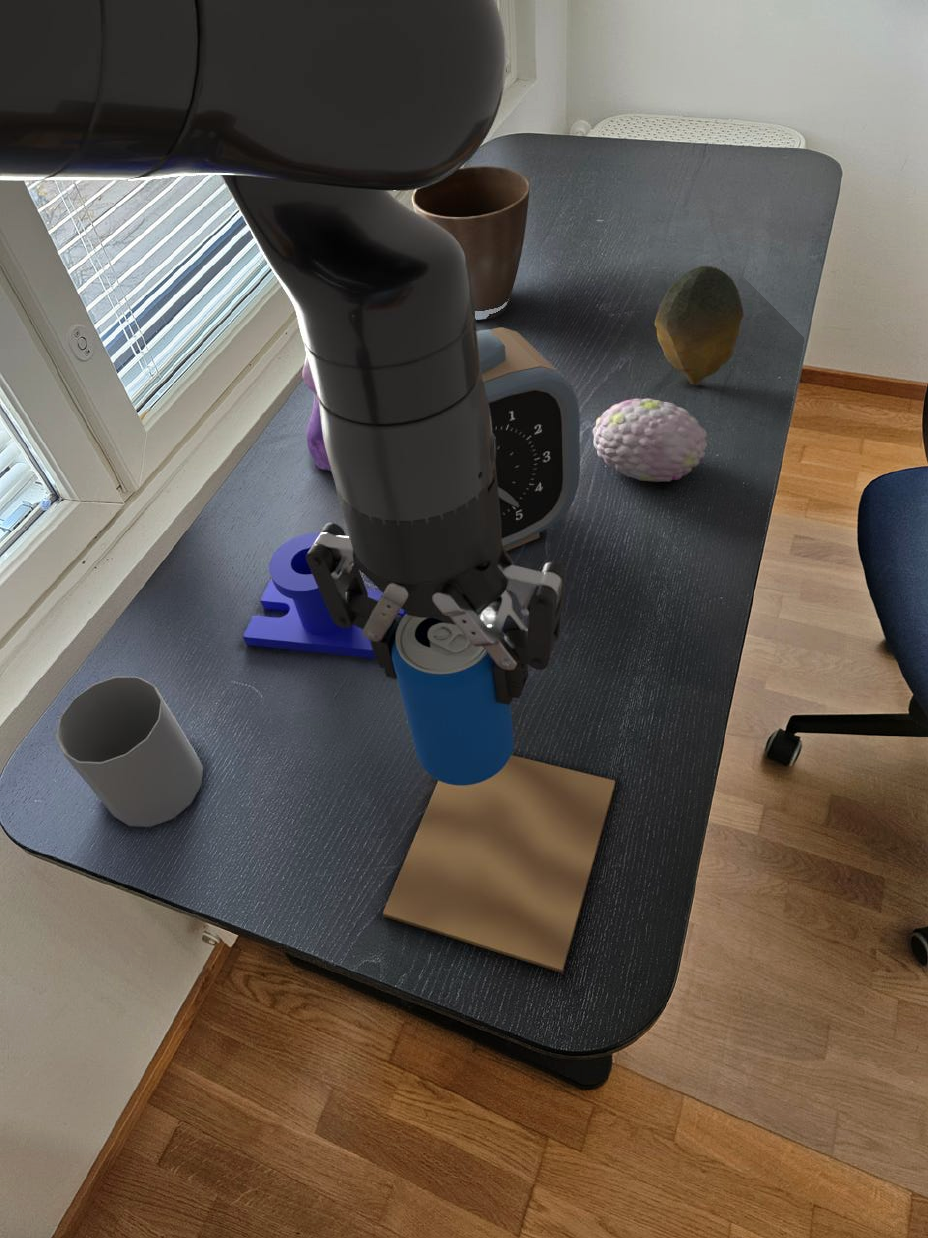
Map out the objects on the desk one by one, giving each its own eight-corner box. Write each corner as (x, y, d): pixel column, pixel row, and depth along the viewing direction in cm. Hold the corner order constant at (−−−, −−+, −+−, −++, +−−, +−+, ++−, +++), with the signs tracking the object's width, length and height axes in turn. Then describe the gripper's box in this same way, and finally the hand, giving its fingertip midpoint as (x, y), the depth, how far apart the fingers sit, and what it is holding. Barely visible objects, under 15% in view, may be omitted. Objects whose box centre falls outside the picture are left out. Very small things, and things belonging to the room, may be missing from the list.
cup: (170, 727, 81) (128, 659, 74) (221, 778, 77) (182, 712, 70) (90, 788, 78) (37, 724, 70) (139, 846, 74) (88, 783, 66)
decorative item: (705, 472, 89) (660, 382, 88) (613, 513, 96) (569, 431, 94) (726, 448, 96) (685, 364, 95) (639, 488, 103) (599, 411, 101)
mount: (246, 644, 87) (218, 583, 80) (272, 588, 92) (248, 526, 85) (392, 660, 84) (376, 597, 77) (412, 601, 88) (398, 538, 82)
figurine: (335, 418, 110) (306, 307, 99) (401, 440, 106) (379, 327, 95) (286, 463, 105) (250, 351, 94) (354, 487, 101) (325, 374, 90)
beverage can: (455, 695, 62) (433, 576, 53) (533, 736, 59) (523, 617, 50) (398, 762, 59) (364, 648, 50) (477, 809, 56) (457, 696, 47)
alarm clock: (402, 601, 89) (361, 424, 72) (368, 544, 95) (323, 368, 78) (582, 527, 93) (582, 344, 77) (539, 477, 99) (530, 297, 83)
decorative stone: (735, 373, 108) (752, 254, 96) (730, 403, 104) (747, 283, 93) (655, 367, 110) (662, 251, 99) (647, 396, 107) (654, 278, 95)
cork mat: (562, 973, 63) (562, 970, 63) (383, 916, 67) (382, 913, 67) (615, 784, 73) (615, 780, 72) (455, 744, 77) (455, 740, 76)
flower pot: (445, 276, 130) (431, 163, 118) (545, 281, 127) (541, 165, 115) (414, 332, 121) (396, 216, 109) (521, 339, 118) (513, 219, 106)
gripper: (239, 490, 41) (320, 703, 53) (541, 541, 37) (552, 759, 49) (310, 395, 45) (369, 612, 58) (586, 431, 41) (585, 656, 54)
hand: (453, 679), depth 53 cm, fingers closed on beverage can, 6 cm apart
